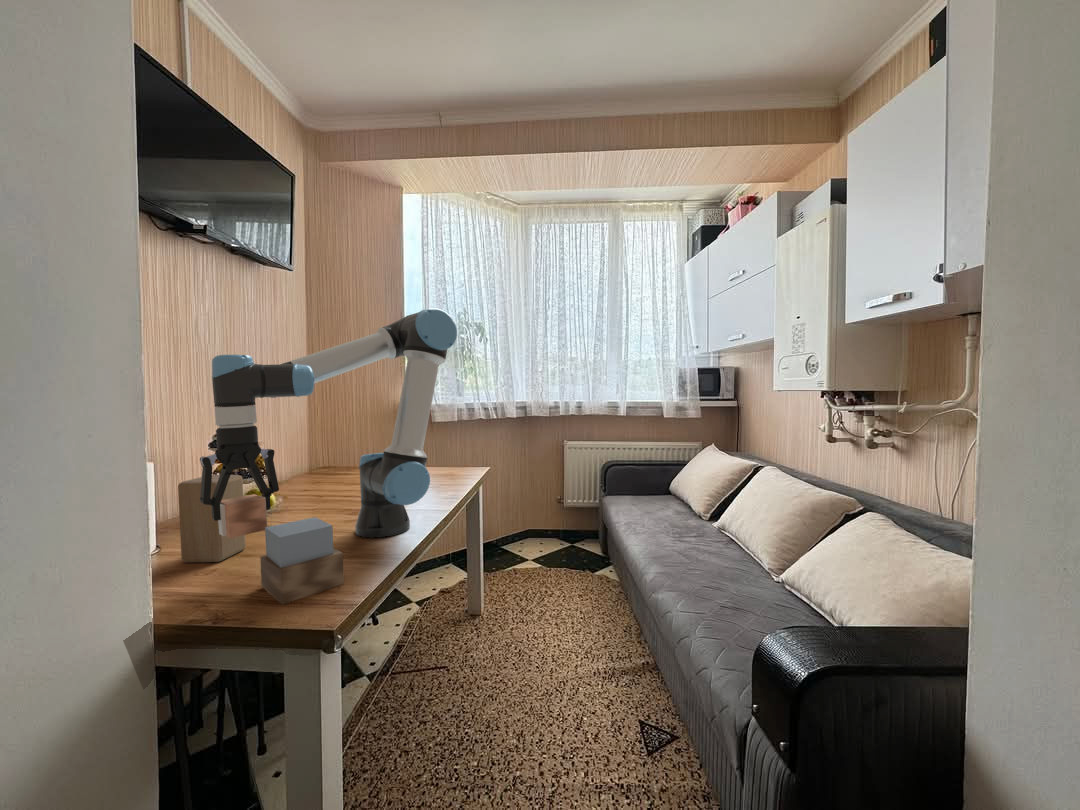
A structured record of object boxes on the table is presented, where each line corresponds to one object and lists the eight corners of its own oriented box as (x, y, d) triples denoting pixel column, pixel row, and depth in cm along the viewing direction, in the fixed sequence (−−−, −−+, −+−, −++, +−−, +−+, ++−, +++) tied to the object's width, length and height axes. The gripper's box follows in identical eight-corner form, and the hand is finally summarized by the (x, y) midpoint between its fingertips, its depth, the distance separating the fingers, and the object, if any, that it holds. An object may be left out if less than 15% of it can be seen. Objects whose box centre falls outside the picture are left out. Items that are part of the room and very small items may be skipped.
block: (210, 549, 120) (207, 474, 119) (247, 549, 120) (244, 474, 119) (179, 564, 110) (175, 482, 109) (219, 563, 110) (215, 481, 109)
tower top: (316, 543, 102) (315, 517, 102) (333, 553, 95) (332, 525, 95) (266, 555, 95) (265, 527, 95) (280, 567, 88) (279, 537, 88)
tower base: (320, 571, 104) (319, 540, 104) (344, 585, 96) (342, 552, 96) (261, 588, 95) (260, 556, 95) (282, 605, 87) (281, 570, 87)
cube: (256, 524, 105) (254, 494, 104) (267, 529, 100) (264, 498, 100) (220, 532, 99) (218, 500, 99) (229, 538, 95) (227, 505, 94)
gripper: (280, 421, 109) (286, 516, 110) (175, 429, 94) (183, 539, 95) (292, 422, 104) (298, 521, 105) (183, 431, 89) (192, 546, 90)
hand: (243, 529), depth 100 cm, fingers closed on cube, 7 cm apart
